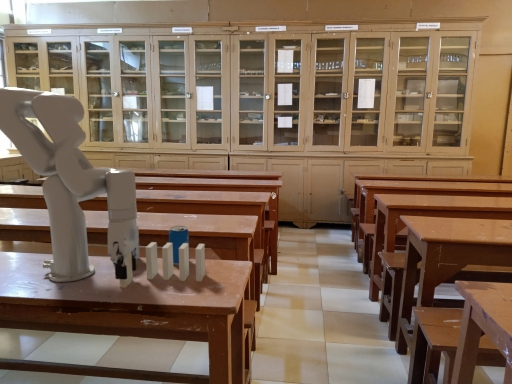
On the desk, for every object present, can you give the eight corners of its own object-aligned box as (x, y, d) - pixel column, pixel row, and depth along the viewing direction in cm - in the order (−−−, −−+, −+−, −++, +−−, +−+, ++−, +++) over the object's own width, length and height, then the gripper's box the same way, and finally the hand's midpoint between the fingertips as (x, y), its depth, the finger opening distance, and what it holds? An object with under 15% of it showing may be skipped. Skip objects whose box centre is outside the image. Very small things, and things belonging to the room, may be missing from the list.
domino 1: (120, 287, 99) (118, 253, 97) (127, 279, 104) (125, 247, 102) (125, 287, 99) (123, 253, 97) (132, 280, 104) (131, 248, 102)
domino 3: (163, 279, 104) (162, 247, 102) (168, 273, 109) (167, 242, 107) (168, 280, 104) (167, 248, 102) (173, 273, 109) (172, 242, 107)
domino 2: (146, 279, 104) (145, 247, 103) (153, 272, 109) (151, 242, 108) (152, 279, 104) (150, 247, 103) (157, 272, 109) (156, 242, 107)
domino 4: (179, 280, 104) (178, 248, 102) (184, 273, 109) (183, 243, 107) (184, 280, 104) (184, 248, 102) (189, 274, 108) (188, 243, 107)
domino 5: (196, 281, 103) (195, 249, 102) (199, 274, 108) (199, 243, 107) (201, 281, 103) (200, 249, 102) (204, 274, 108) (204, 243, 106)
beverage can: (182, 266, 114) (181, 231, 112) (166, 264, 116) (164, 229, 114) (192, 260, 120) (192, 226, 118) (176, 257, 122) (175, 224, 120)
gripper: (123, 206, 106) (126, 263, 109) (93, 220, 89) (98, 286, 93) (147, 207, 106) (149, 263, 109) (122, 221, 89) (125, 288, 92)
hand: (126, 273), depth 101 cm, fingers open, 5 cm apart
